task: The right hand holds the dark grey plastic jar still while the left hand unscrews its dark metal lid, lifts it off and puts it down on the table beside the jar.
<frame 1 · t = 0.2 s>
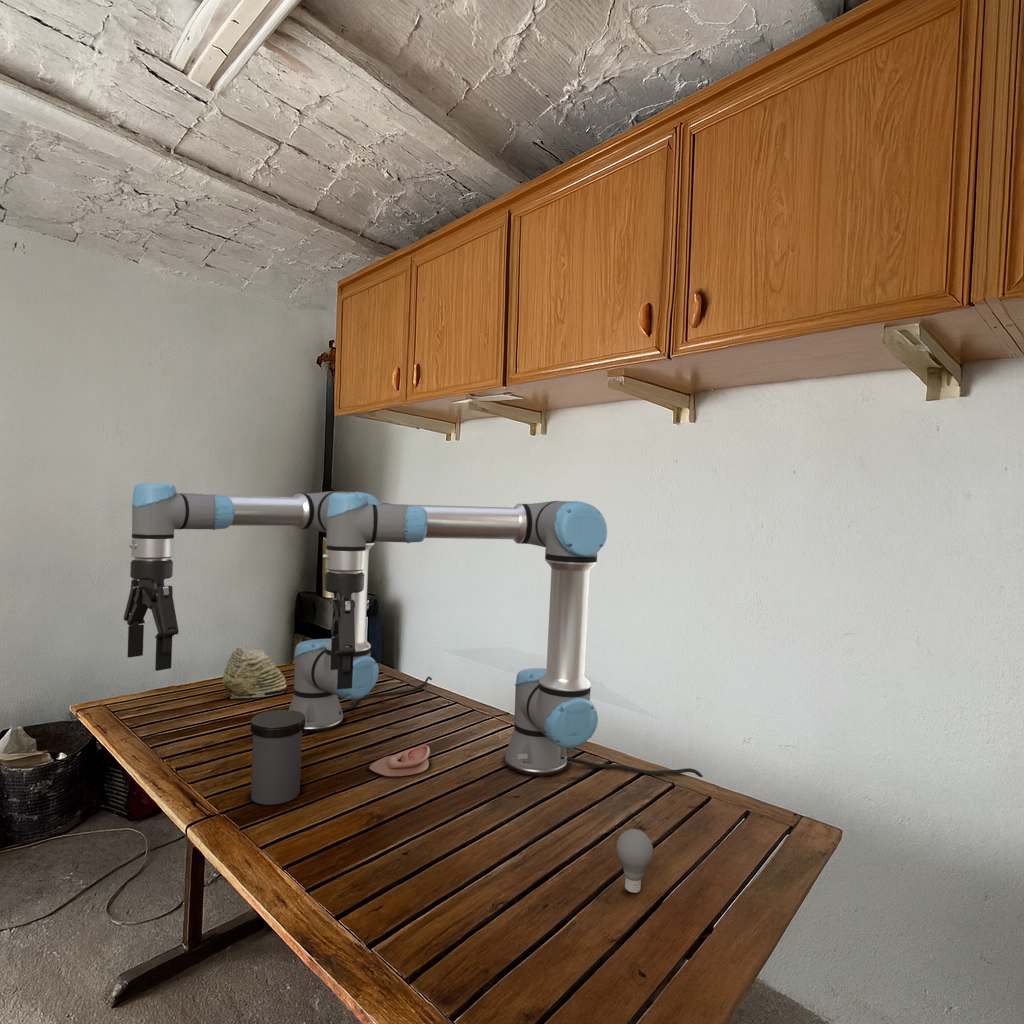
left hand: (148, 662, 129), 28 cm above the table, tool pointing down, fingers open, 13 cm apart
right hand: (340, 678, 125), 28 cm above the table, tool pointing down, fingers open, 13 cm apart
lid: (278, 719, 134), point 16 cm above the table, screwed on, not yet turned
anatomical model: (399, 767, 150), on the table
fossil: (254, 694, 198), on the table
light bulb: (632, 891, 106), on the table
jar: (275, 793, 134), on the table
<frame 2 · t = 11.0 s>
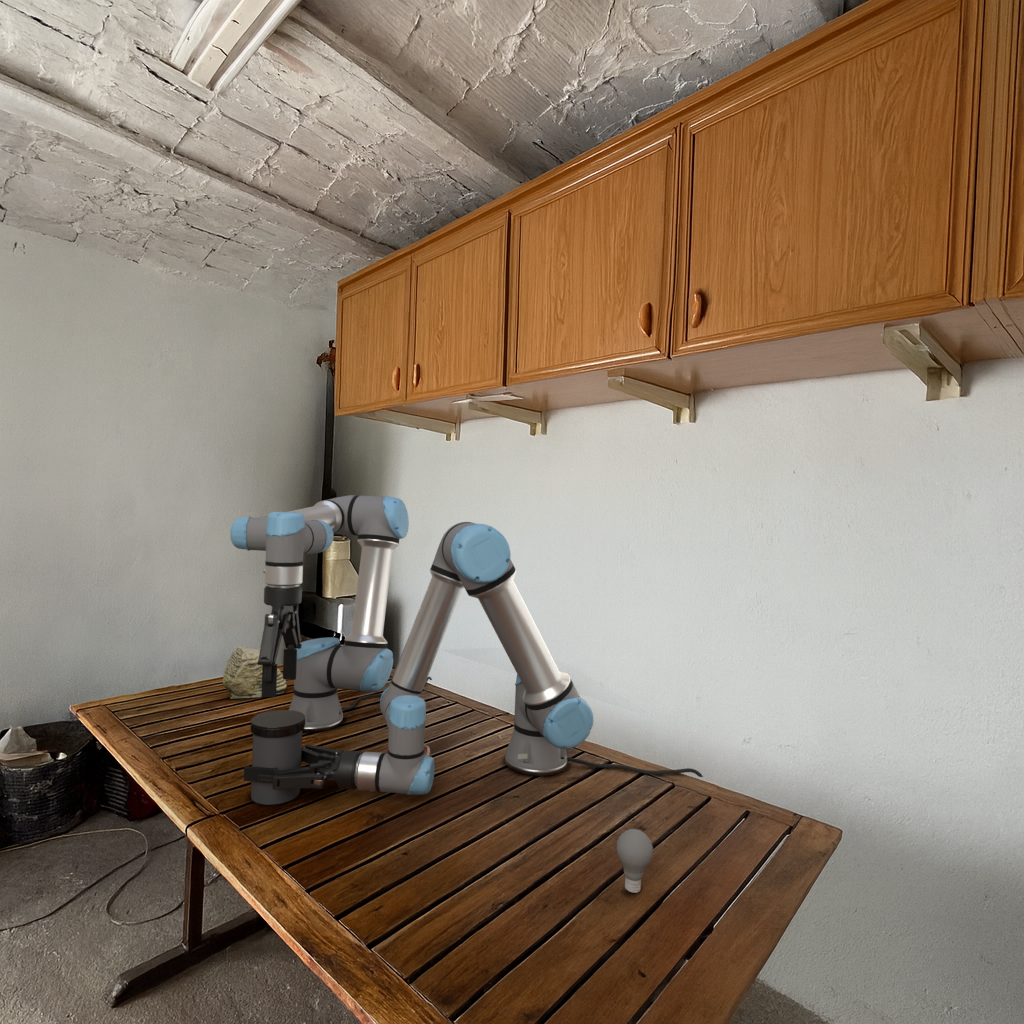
left hand: (279, 687, 134), 23 cm above the table, tool pointing down, fingers open, 12 cm apart
right hand: (256, 762, 134), 6 cm above the table, tool horizontal, fingers closed on jar, 10 cm apart
jar: (275, 793, 134), on the table, touching right hand
everything else where it was.
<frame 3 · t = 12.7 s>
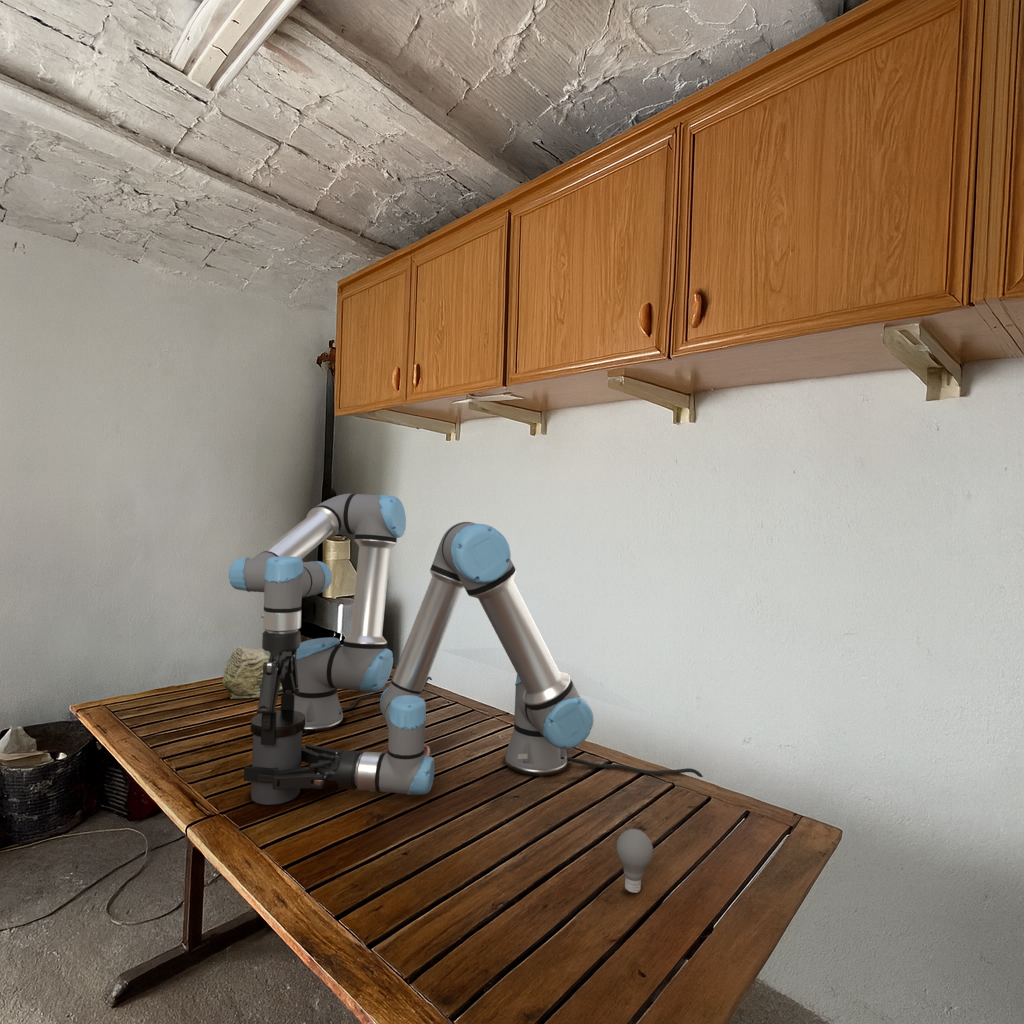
left hand: (277, 733, 134), 13 cm above the table, tool pointing down, fingers closed on lid, 11 cm apart
right hand: (256, 762, 134), 6 cm above the table, tool horizontal, fingers closed on jar, 10 cm apart
lid: (278, 719, 134), point 16 cm above the table, screwed on, not yet turned, touching left hand
jar: (275, 793, 134), on the table, touching right hand
everything else where it was.
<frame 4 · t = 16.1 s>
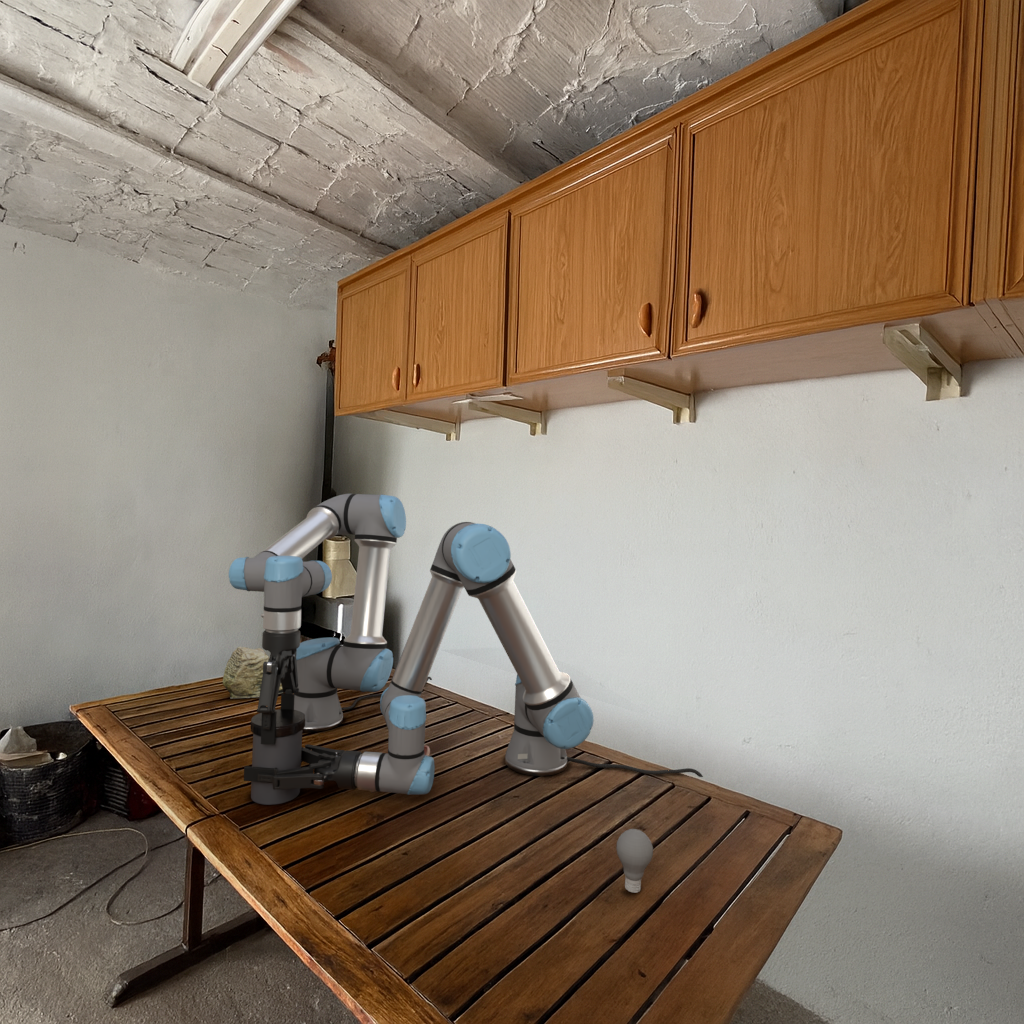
left hand: (277, 733, 134), 13 cm above the table, tool pointing down, fingers closed on lid, 11 cm apart
right hand: (257, 762, 134), 6 cm above the table, tool horizontal, fingers closed on jar, 10 cm apart
lid: (278, 719, 134), point 16 cm above the table, turned 93° so far, risen 0.1 cm, still on its thread, touching left hand
jar: (275, 793, 134), on the table, touching right hand
everything else where it was.
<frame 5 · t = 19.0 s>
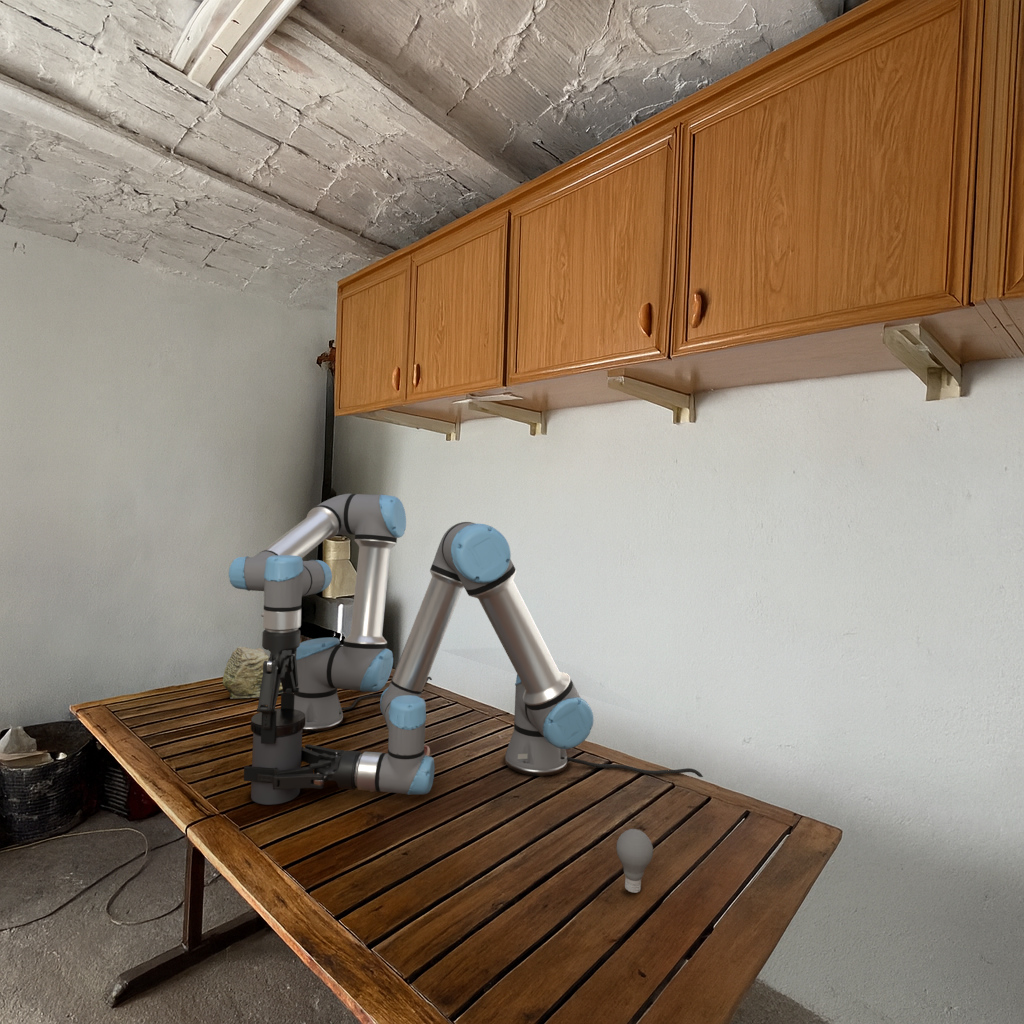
left hand: (277, 732, 134), 13 cm above the table, tool pointing down, fingers closed on lid, 11 cm apart
right hand: (257, 762, 134), 6 cm above the table, tool horizontal, fingers closed on jar, 10 cm apart
lid: (278, 718, 134), point 16 cm above the table, turned 185° so far, risen 0.3 cm, still on its thread, touching left hand
jar: (275, 793, 134), on the table, touching right hand
everything else where it was.
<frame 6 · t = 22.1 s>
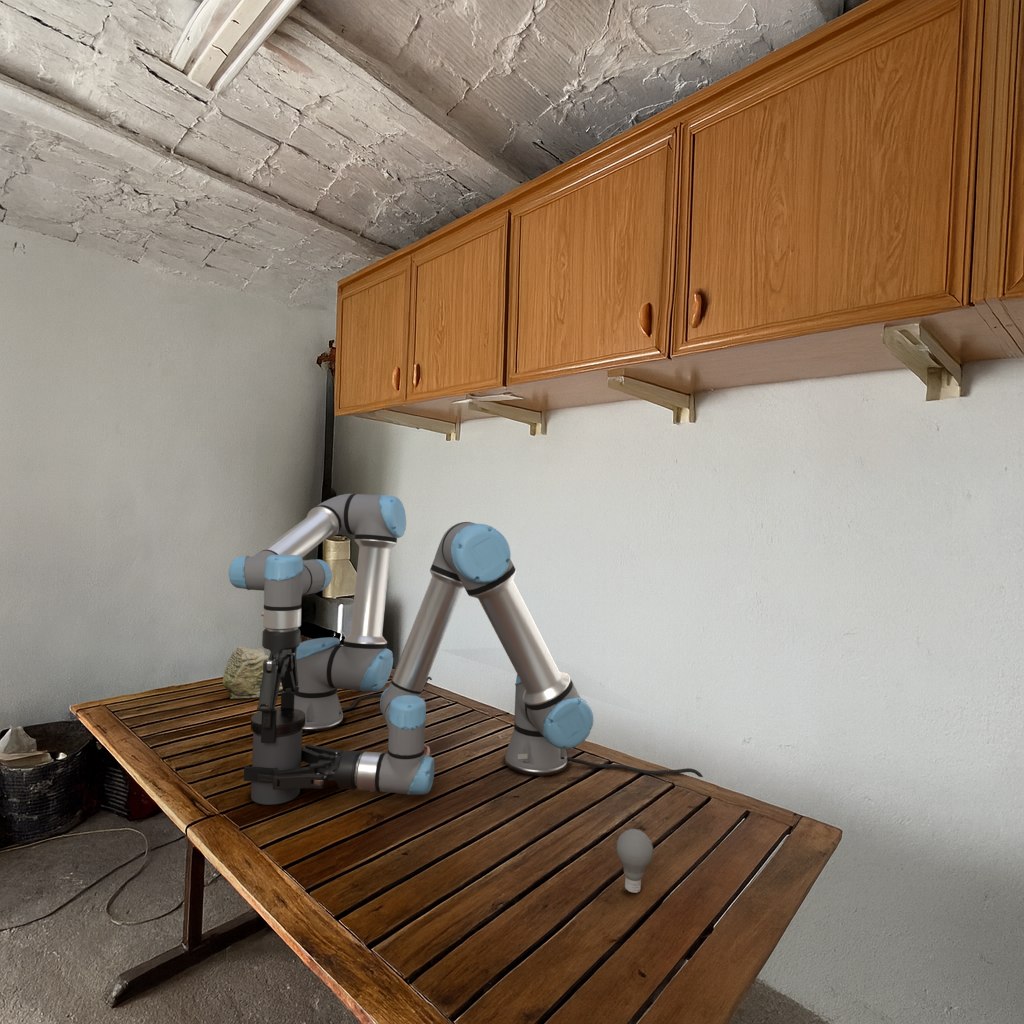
left hand: (277, 732, 134), 13 cm above the table, tool pointing down, fingers closed on lid, 11 cm apart
right hand: (256, 762, 134), 6 cm above the table, tool horizontal, fingers closed on jar, 10 cm apart
lid: (278, 717, 134), point 16 cm above the table, turned 278° so far, risen 0.4 cm, still on its thread, touching left hand
jar: (275, 793, 134), on the table, touching right hand
everything else where it was.
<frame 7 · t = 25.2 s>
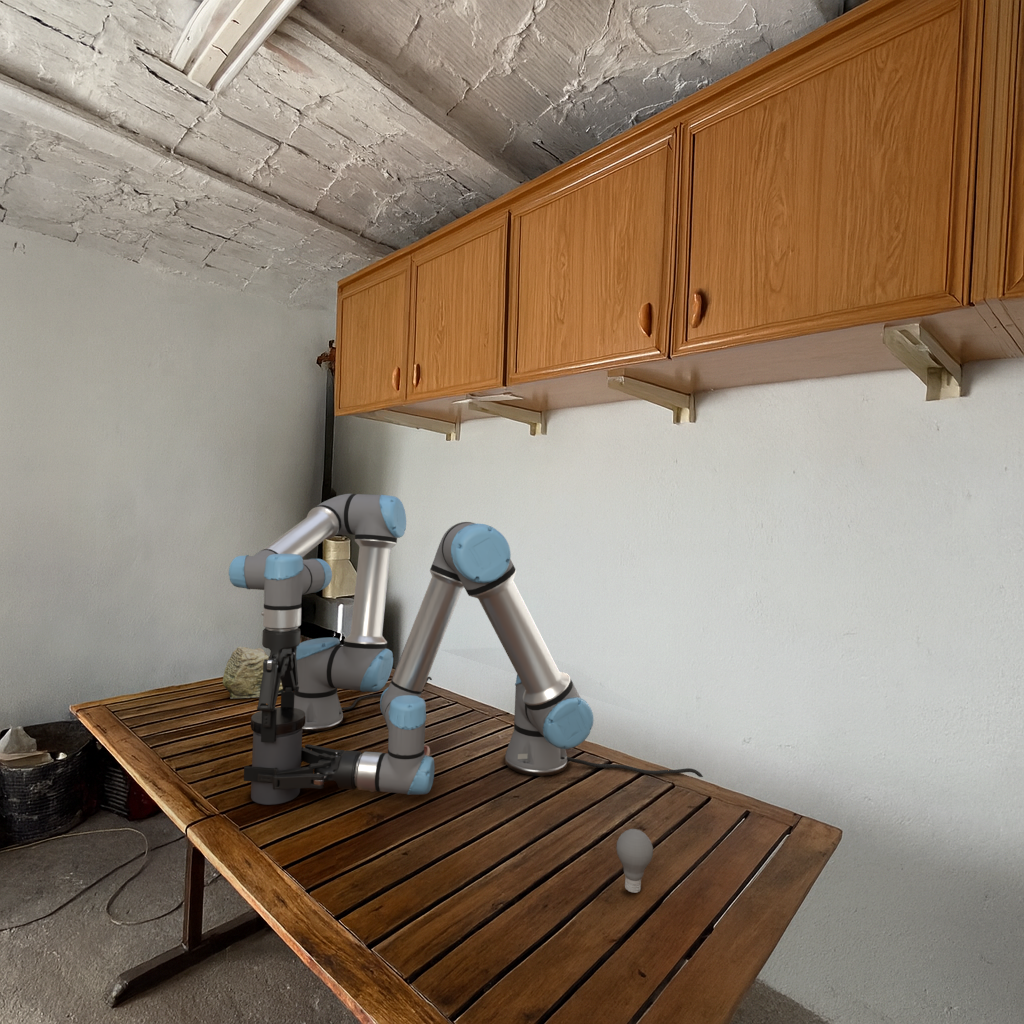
left hand: (277, 731, 134), 13 cm above the table, tool pointing down, fingers closed on lid, 11 cm apart
right hand: (257, 762, 134), 6 cm above the table, tool horizontal, fingers closed on jar, 10 cm apart
lid: (278, 717, 134), point 16 cm above the table, turned 370° so far, risen 0.6 cm, still on its thread, touching left hand
jar: (275, 793, 134), on the table, touching right hand
everything else where it was.
when the left hand's fingers open (0 cm above the table, at t = 32.1 s): lid drops 1 cm, point 2 cm above the table.
when the right hand's fingers open (6 cm above the table, at t = 33.1 s): jar stays where it is, on the table.
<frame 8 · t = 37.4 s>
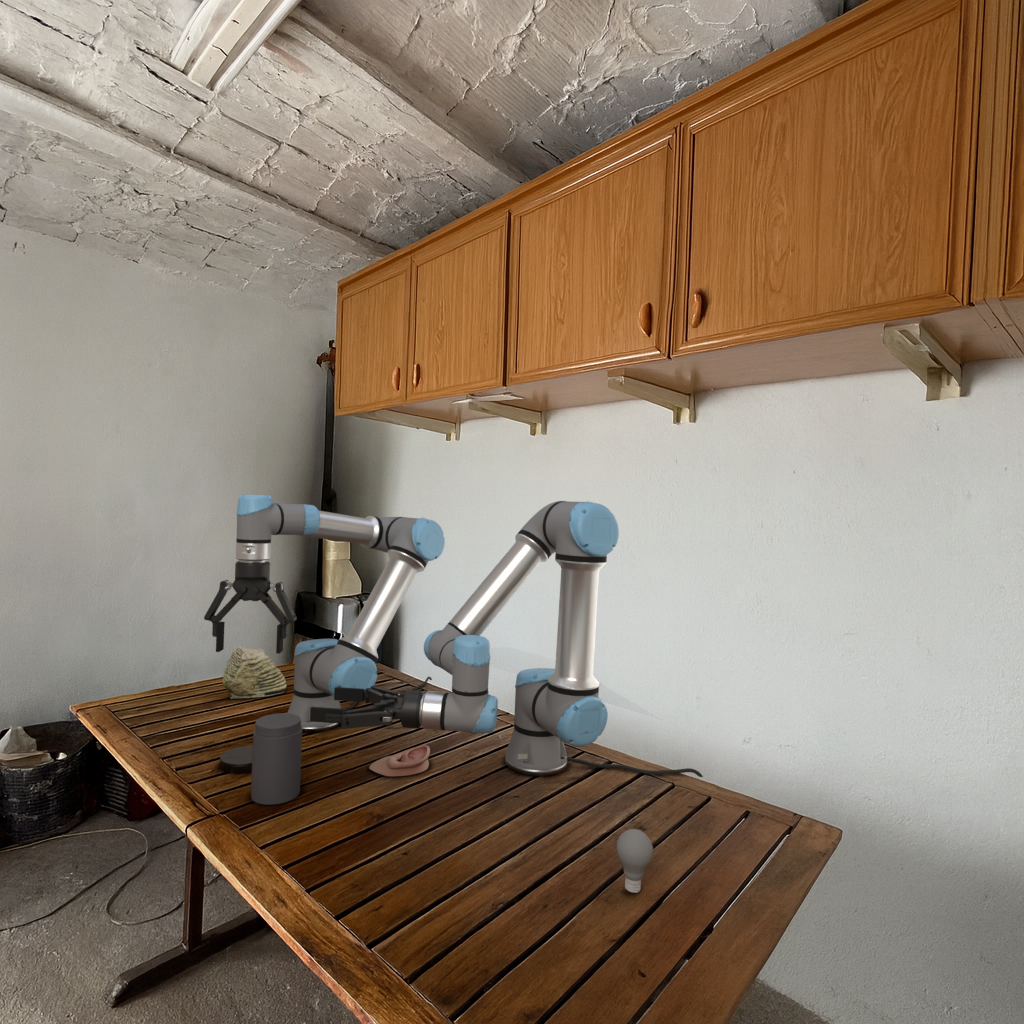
left hand: (249, 651, 148), 26 cm above the table, tool pointing down, fingers open, 13 cm apart
right hand: (323, 703, 133), 20 cm above the table, tool horizontal, fingers open, 13 cm apart
lid: (245, 756, 148), point 2 cm above the table, off its thread
jar: (275, 793, 134), on the table
everything else where it was.
at the end: lid came off its thread; lid point 1.8 cm above the table; the left hand is holding nothing; the right hand is holding nothing; jar tilted 0°; jar moved 0.0 cm from its start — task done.
